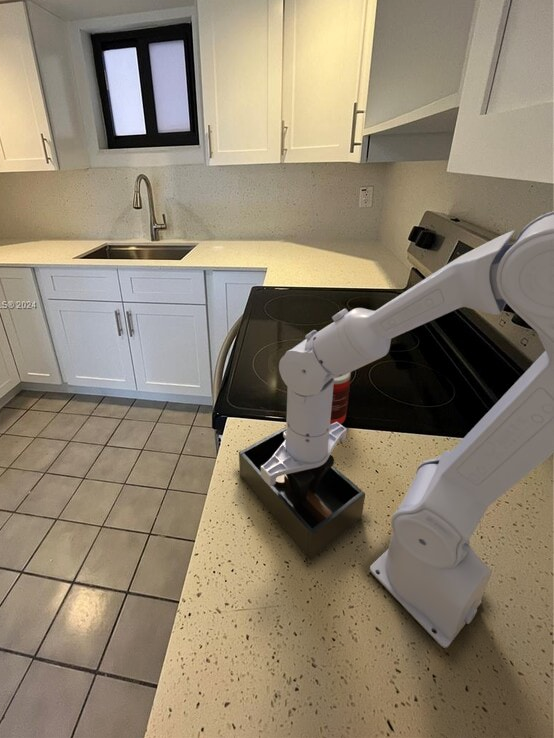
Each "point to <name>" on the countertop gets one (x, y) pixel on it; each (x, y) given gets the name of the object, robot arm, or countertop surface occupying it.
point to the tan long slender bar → (307, 500)
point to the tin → (289, 511)
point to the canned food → (340, 398)
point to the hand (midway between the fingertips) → (303, 493)
